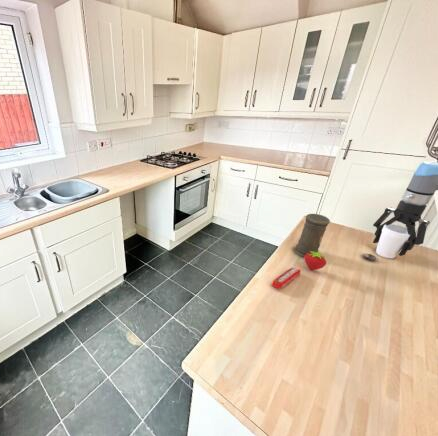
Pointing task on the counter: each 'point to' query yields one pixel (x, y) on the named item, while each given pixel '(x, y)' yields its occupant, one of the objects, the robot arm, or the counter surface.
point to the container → (312, 234)
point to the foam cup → (392, 240)
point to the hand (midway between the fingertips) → (388, 248)
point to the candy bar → (285, 278)
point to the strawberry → (314, 261)
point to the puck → (369, 257)
